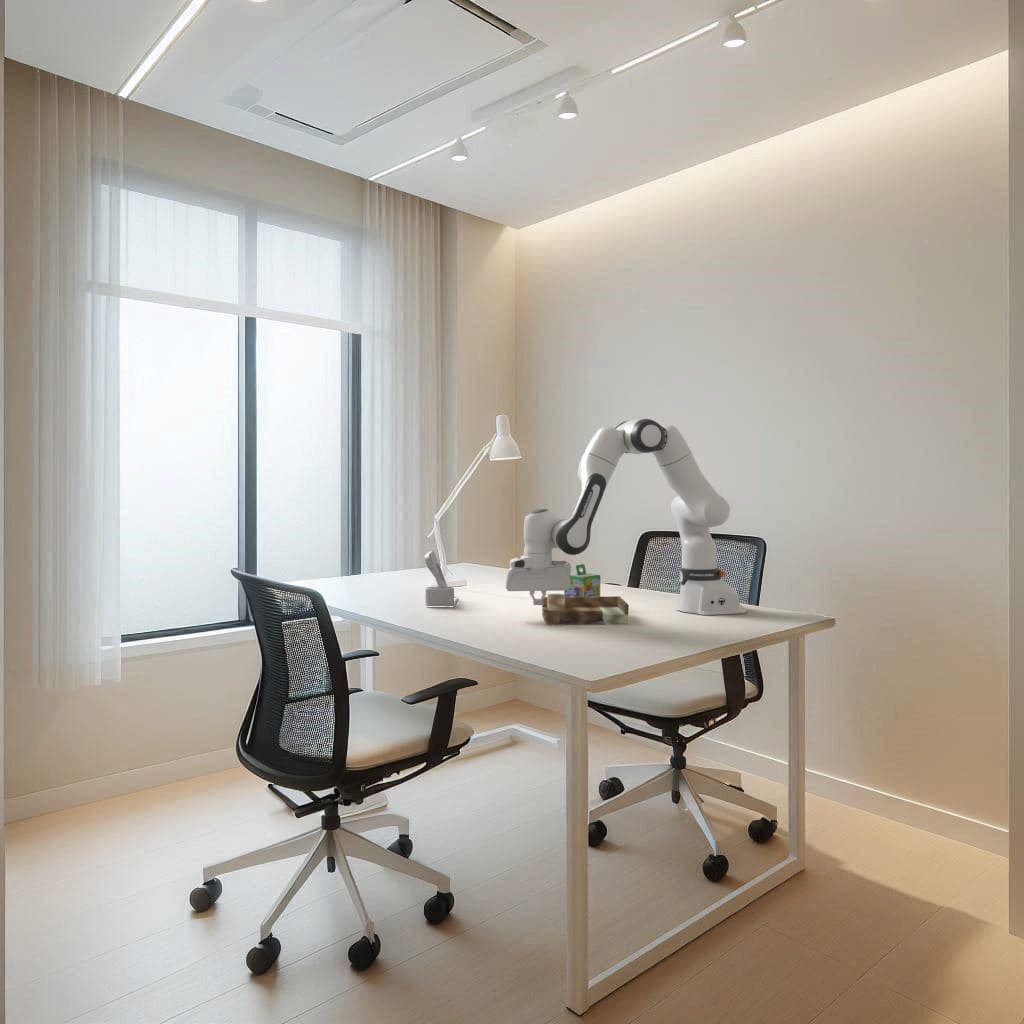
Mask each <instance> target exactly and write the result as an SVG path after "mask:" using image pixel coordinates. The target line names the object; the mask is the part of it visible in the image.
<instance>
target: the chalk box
mask: <svg viewBox="0 0 1024 1024" xmlns="http://www.w3.org/2000/svg"><path fill="white" fill-rule="evenodd" d="M575 569H576V573H575V572H574V573H570V574H569V578H570V589H569V590H567V591H563V594H564V595H565V597H599V596H601V575H600V574H595V573H588V572H587V570H586V566H585V564H584V563H583V564H577V565H575ZM580 569H582V571H580Z"/></svg>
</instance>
